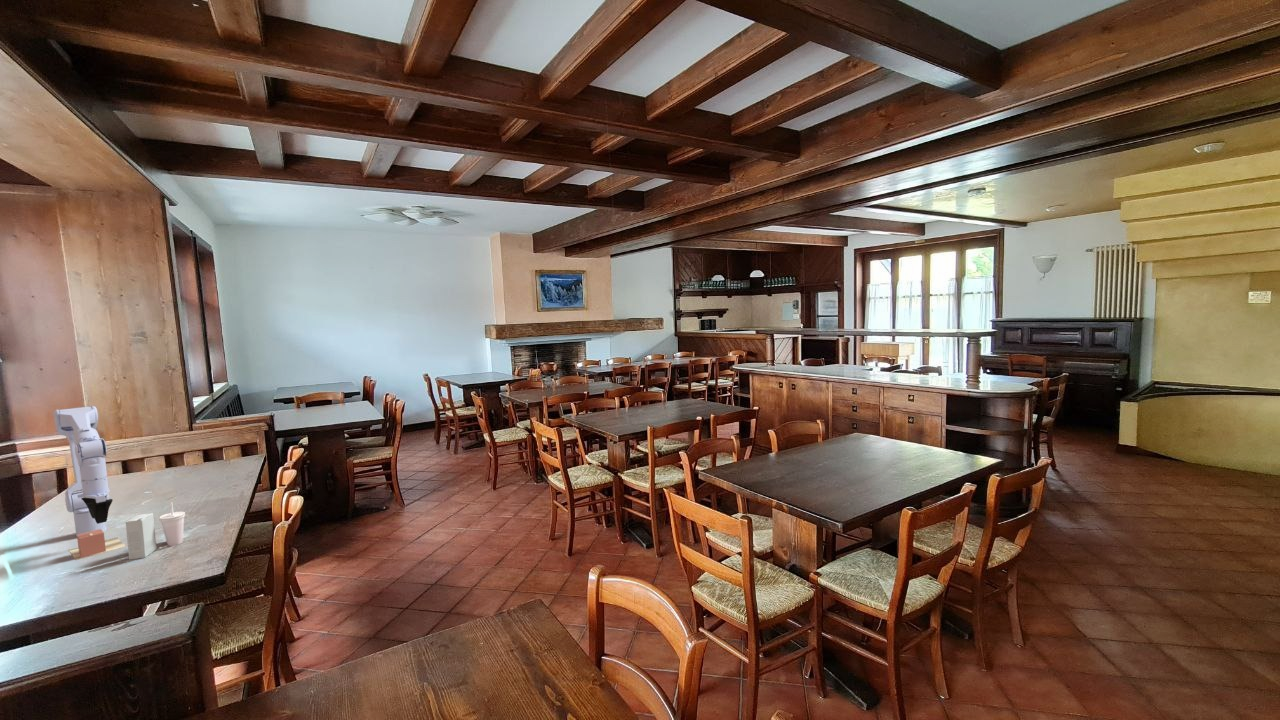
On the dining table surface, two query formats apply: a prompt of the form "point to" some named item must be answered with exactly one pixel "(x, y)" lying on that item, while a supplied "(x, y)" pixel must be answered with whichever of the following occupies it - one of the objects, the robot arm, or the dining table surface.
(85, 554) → the terracotta orange block
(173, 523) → the smoothie
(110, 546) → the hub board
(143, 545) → the skincare box
